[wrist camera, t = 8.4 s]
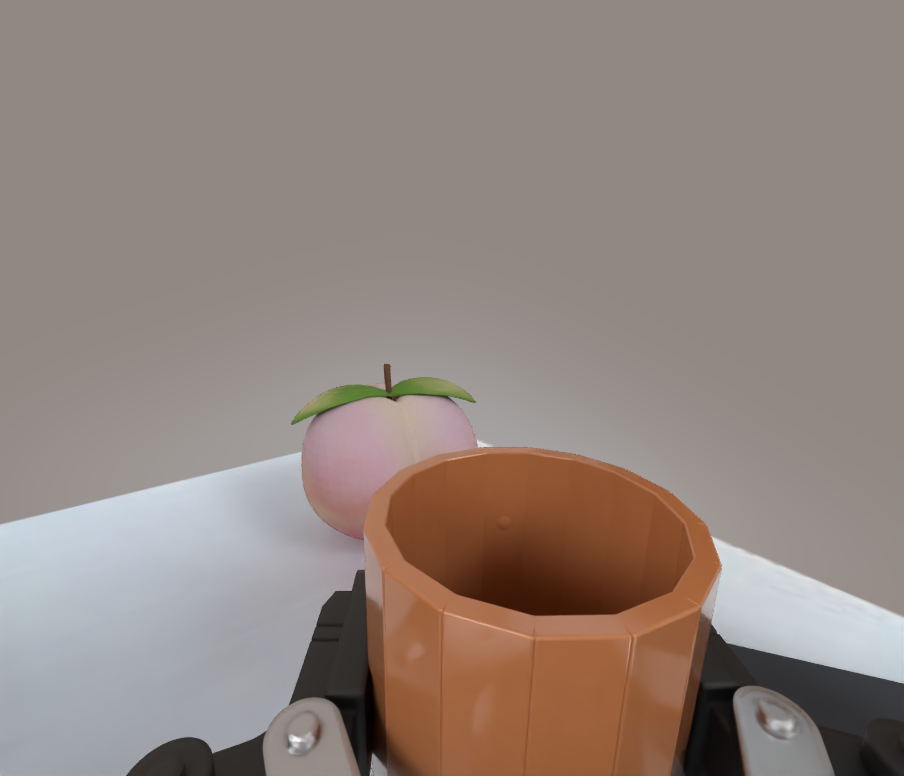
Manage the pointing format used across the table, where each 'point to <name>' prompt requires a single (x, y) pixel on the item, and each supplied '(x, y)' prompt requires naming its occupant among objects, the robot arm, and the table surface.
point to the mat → (826, 690)
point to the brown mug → (533, 617)
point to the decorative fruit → (375, 441)
